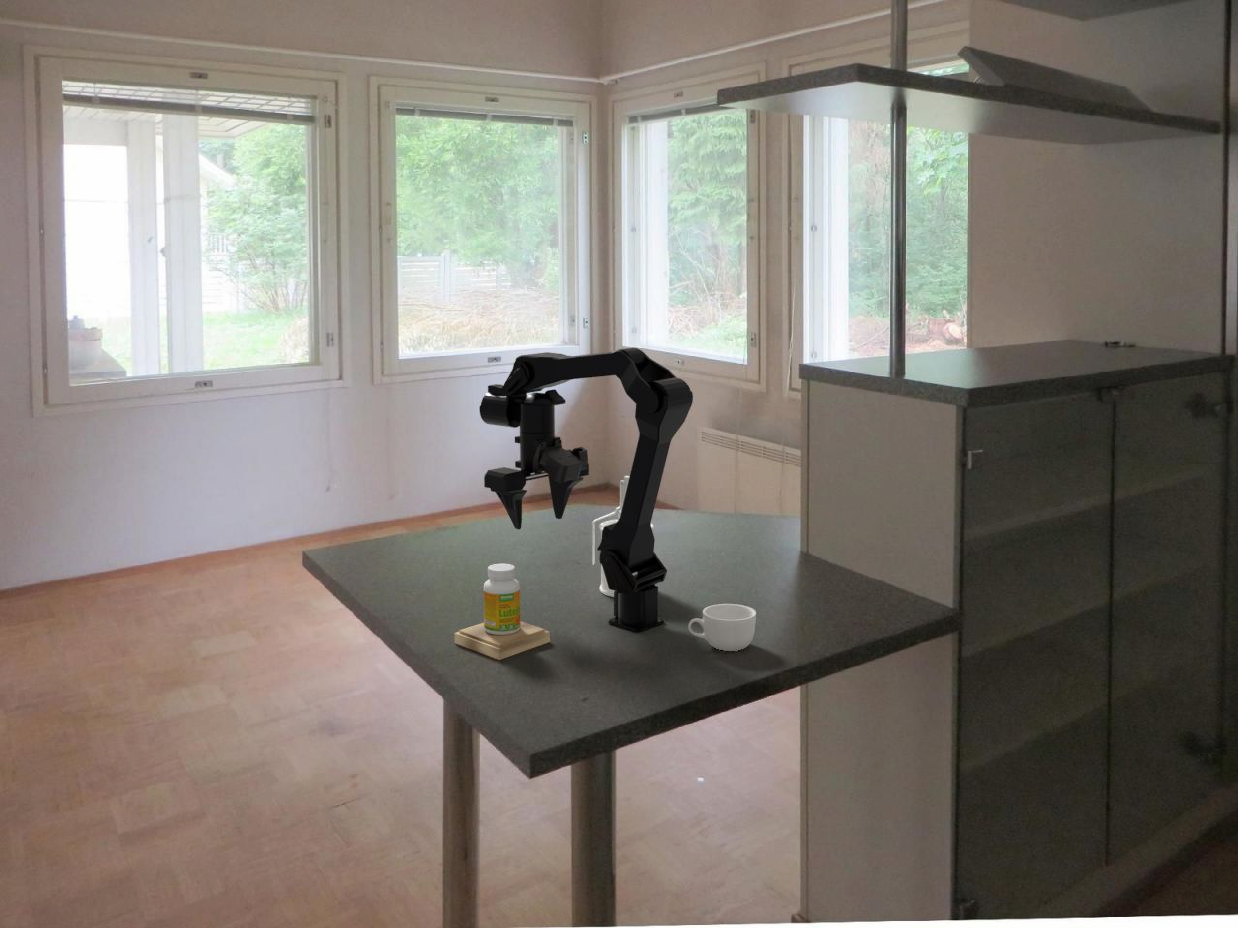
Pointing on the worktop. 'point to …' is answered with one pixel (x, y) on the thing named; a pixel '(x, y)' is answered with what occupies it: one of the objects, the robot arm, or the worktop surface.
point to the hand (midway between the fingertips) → (538, 523)
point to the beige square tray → (502, 640)
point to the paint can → (604, 585)
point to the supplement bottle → (501, 600)
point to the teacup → (727, 626)
